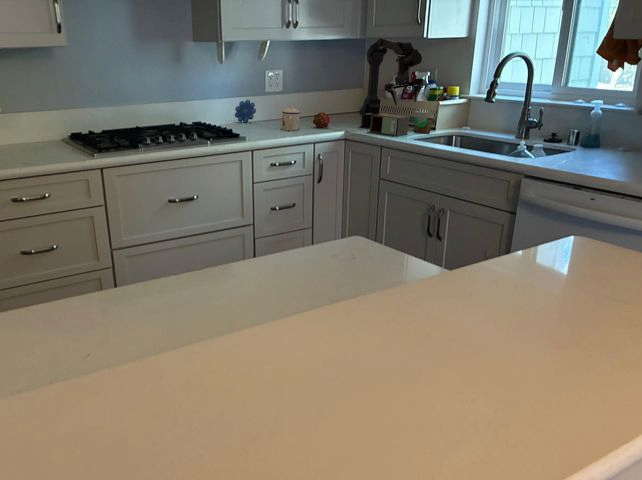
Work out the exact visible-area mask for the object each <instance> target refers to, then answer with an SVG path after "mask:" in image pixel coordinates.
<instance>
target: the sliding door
mask: <svg viewBox="0 0 642 480" xmlns="http://www.w3.org/2000/svg"><path fill="white" fill-rule="evenodd" d="M396 126H397V118H389V117H383V121H382V131H381V133H384V134H391V135H395V134H396Z"/></svg>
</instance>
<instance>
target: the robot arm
mask: <svg viewBox="0 0 642 480" xmlns="http://www.w3.org/2000/svg"><path fill="white" fill-rule="evenodd" d="M388 50H391V51H392V52H393V53H394V54H395V55H397V58H396V59H395V62H396V63H397V69H398V70H397V75H396V76H394V82H395V83H393V82H391V83H385V84H384V87H383V88H384V89H383V90H384V92H387V93H389V94H390V95H391V98H392V100H393V102H394V105H395V106H397V105H398V94H397V93H398V91H397V90H396V89H401V88H407V87H412V86H413V90H414V91H413V93H414V94H413V102H414V103H417V100H418V97H419V94H420V92H421V90H422V89H423V88H424V87H425V86H427V80H426V79H425V78H423V77H420V78H415V79H414V80H413V81H412V71H411V69H412V68H413V67H416V66H418V65H420V64H421V63H422V61H423V56H422V54H421V52H419V49H415V48H414V46H413V44H412V42H410V41H396V40H393V39H391V38H388V37H380V38H378V39H377V40H376V42H373V44H371V45H370V46H369V47H368V49H367V51H366V61H367V63H368V66H369V70H368V72H369V73H368V85H367V95H366V97H365V99H364V100H363V105H362V106H361V108H360V110H359V113H358V114H359V116H361V124H360V125H358V127H359V128H363V129H370V123H371V114H380V113H379V112H380V110H381V102H382V101H381V98H379V96H378V90H379V77H380V66H381V64H382V63H383V61H384V57H385V55H386V54H387V52H388Z"/></svg>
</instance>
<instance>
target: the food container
mask: <svg viewBox="0 0 642 480" xmlns="http://www.w3.org/2000/svg"><path fill="white" fill-rule="evenodd" d="M413 117H414V121H413V122H414V123H413V125H414V126H413V133H415V134H423V135H430V133H431V130H432V124H433V119H434V118H435V114H434V113H426V112H420V110H416V111H414V113H413Z"/></svg>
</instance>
